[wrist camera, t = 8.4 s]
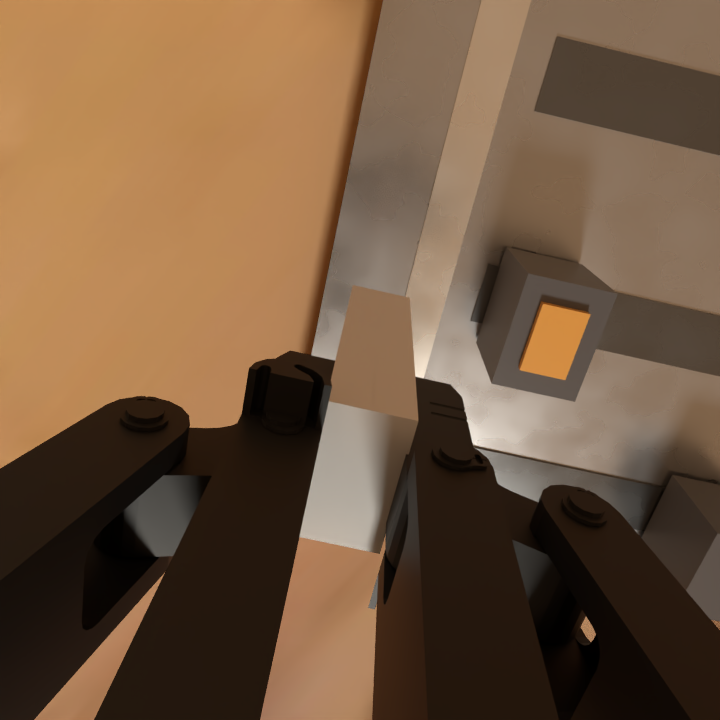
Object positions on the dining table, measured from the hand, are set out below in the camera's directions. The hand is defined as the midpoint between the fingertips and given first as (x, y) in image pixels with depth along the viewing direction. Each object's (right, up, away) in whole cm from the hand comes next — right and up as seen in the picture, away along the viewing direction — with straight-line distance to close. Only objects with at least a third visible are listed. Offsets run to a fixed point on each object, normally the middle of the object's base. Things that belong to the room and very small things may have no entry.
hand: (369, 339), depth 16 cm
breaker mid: (+6, +2, +8) cm, 10 cm away
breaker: (+14, -8, +12) cm, 20 cm away
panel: (+11, +1, +10) cm, 15 cm away
